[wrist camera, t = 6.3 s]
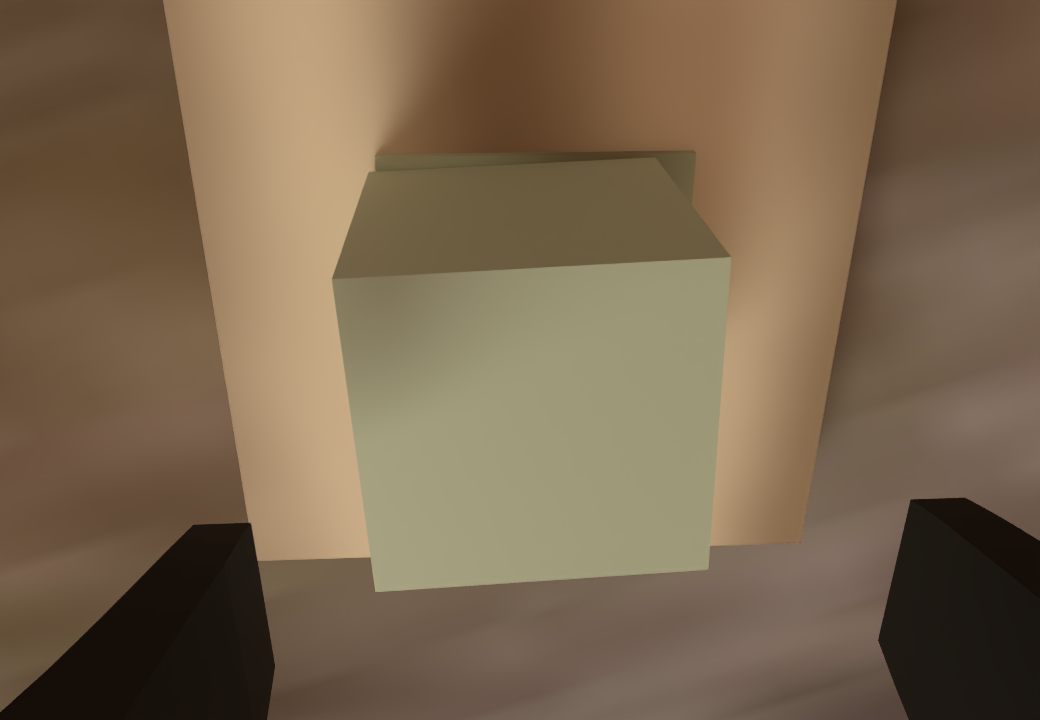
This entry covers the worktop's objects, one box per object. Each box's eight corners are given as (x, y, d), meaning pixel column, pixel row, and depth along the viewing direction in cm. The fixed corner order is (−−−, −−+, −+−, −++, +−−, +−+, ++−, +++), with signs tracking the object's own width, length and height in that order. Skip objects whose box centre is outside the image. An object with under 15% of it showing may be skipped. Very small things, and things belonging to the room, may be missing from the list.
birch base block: (837, -56, 17) (910, -48, 15) (761, 467, 23) (803, 548, 20) (204, -56, 17) (151, -47, 14) (280, 482, 22) (253, 567, 19)
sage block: (654, 157, 16) (731, 257, 11) (647, 405, 18) (708, 569, 14) (368, 171, 16) (331, 279, 11) (396, 420, 18) (375, 591, 13)
